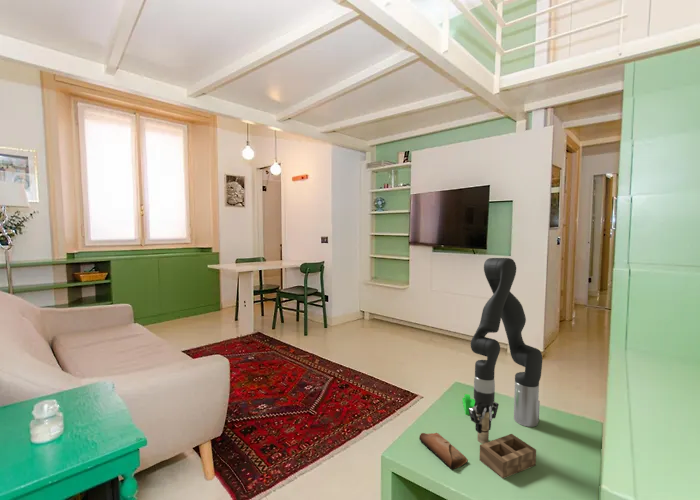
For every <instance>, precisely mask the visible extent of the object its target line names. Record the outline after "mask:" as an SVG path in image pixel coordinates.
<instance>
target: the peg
mask: <svg viewBox="0 0 700 500" xmlns="http://www.w3.org/2000/svg"><path fill="white" fill-rule="evenodd" d="M478 414H479V413H478ZM479 415H481V414H479ZM478 420H479V417H478ZM481 424H482V433H478V432H477V442H479V444H484V443H487V442H489V434H490V433H489V432H490V430H489V412H487V413H485V415H484V419H482V423H481Z"/></svg>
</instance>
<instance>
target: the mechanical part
mask: <svg viewBox="0 0 700 500" xmlns="http://www.w3.org/2000/svg"><path fill="white" fill-rule="evenodd" d="M462 404H463V410H464V413H465V416H466V415H467V416H470V414H469V410H468V409H469V407H470V408H473V407H474V404H475V399H474V398H471V394H468V393H464V397H462Z"/></svg>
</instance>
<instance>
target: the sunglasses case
mask: <svg viewBox="0 0 700 500" xmlns="http://www.w3.org/2000/svg"><path fill="white" fill-rule="evenodd" d="M418 438H419V441H420V442H421V443H422V444H424V445H425V446H426V447H427V449H428V448H429V450H430V451H432V452H433V453H434V455H435V456H437V457H438V458H439V459H440V460H441V461H442V462H443V463H444V464H445V465H446V466H447V467H448V468H450V469H451V470H455V469H457V468H461V467H462V466H464V465H465V464H466V463H467V462H468V461H469V459H468V458H467V457H466V456H465V455H464V454H463V453H462V452H461V451H460V450H458V449H457V448H456V447H455V446H454V445H453V444H452V443H450V441H448V440H447V439H446V438H444V437H443V436H442V435H441V434H439V432H435V433H434V432H433V433H432V432H431V433H426V432H421V433H420V434H419V437H418Z"/></svg>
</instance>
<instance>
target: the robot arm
mask: <svg viewBox="0 0 700 500" xmlns="http://www.w3.org/2000/svg"><path fill="white" fill-rule="evenodd" d="M483 272H484V276H485V278H486V281H487V283H488V284H489V287H490V289H491V292H492V296H490V298H489V299H488V300H487V301H486V303H485V305H484V306H483V308H482V311H481V317H480V323H479V324H478V327H477V329H476V331H475V333H474V335H473V336H472V338H471V339H470V349H471V352H473V353H475V354H477V355H480V356H483V357H486V359H478V360H476V361H475V365H474V377H473V378H474V379H473V399H474V400H475V404H474V407H473V408H470V407H469V409H468V410H469V414H470V415H469V417H470V421H472V422H473V423H474V424H475V427H474V428H475V431H476V432H477V434H478V433H482V424H481V423H482V419H484V415H485V413H487V412H489V431H491V429H492V421H493V419H496V416H497V412H498V409H499V403H498V402H496V401H495V396H496V395H495V394H496V393H495V390H496V384H495V383H496V382H495V368H496V364H497V360H498V357H499V355H500V352H501V345H500V343H499V341H498V340H497V339H493V338H491V337H487V334H490V333H493V334H495V333H498V332H499V330H500V326H501V322H502V324H503V327H504V330H505V334H506V337H507V342H508V347H509V353H510V357H511V359H512V360H513V362H514V363H515V364H517V365H519V366H521V367H523V368H525V369H524V371H519V372H516V373H515V375H514V395H513V396H514V401H513V402H514V403H513V420H514V421H515V422H516V423H517V424H519V425H521V426H523V427H528V428H533V427H536V426H538V424H539V422H540V404H541V403H540V400H539V395H540V394H539V392H540V381H541V377H542V369H543V354H542V351H541V350H540V349H538V348H536V347H534V346H531V345H529V344H528V345H527V344H526V343H525V342H524V339H523V336H522V333H523V330H524V327H525V325H526V322H527V318H526V313H525V311H524V308H523V304H522V303H521V301H520V300H519V299H518V297H516V296H515V295H514V294H513V293H512V292H511V289H512V285H513V283H514V280H515V278H516V273H517V265H516V262H515V260H514V259H513V258H511V257H489V258H487V259H485V261H484V264H483ZM478 413H479V414H481V415H479V414H478ZM478 417H479V420H478Z"/></svg>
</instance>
